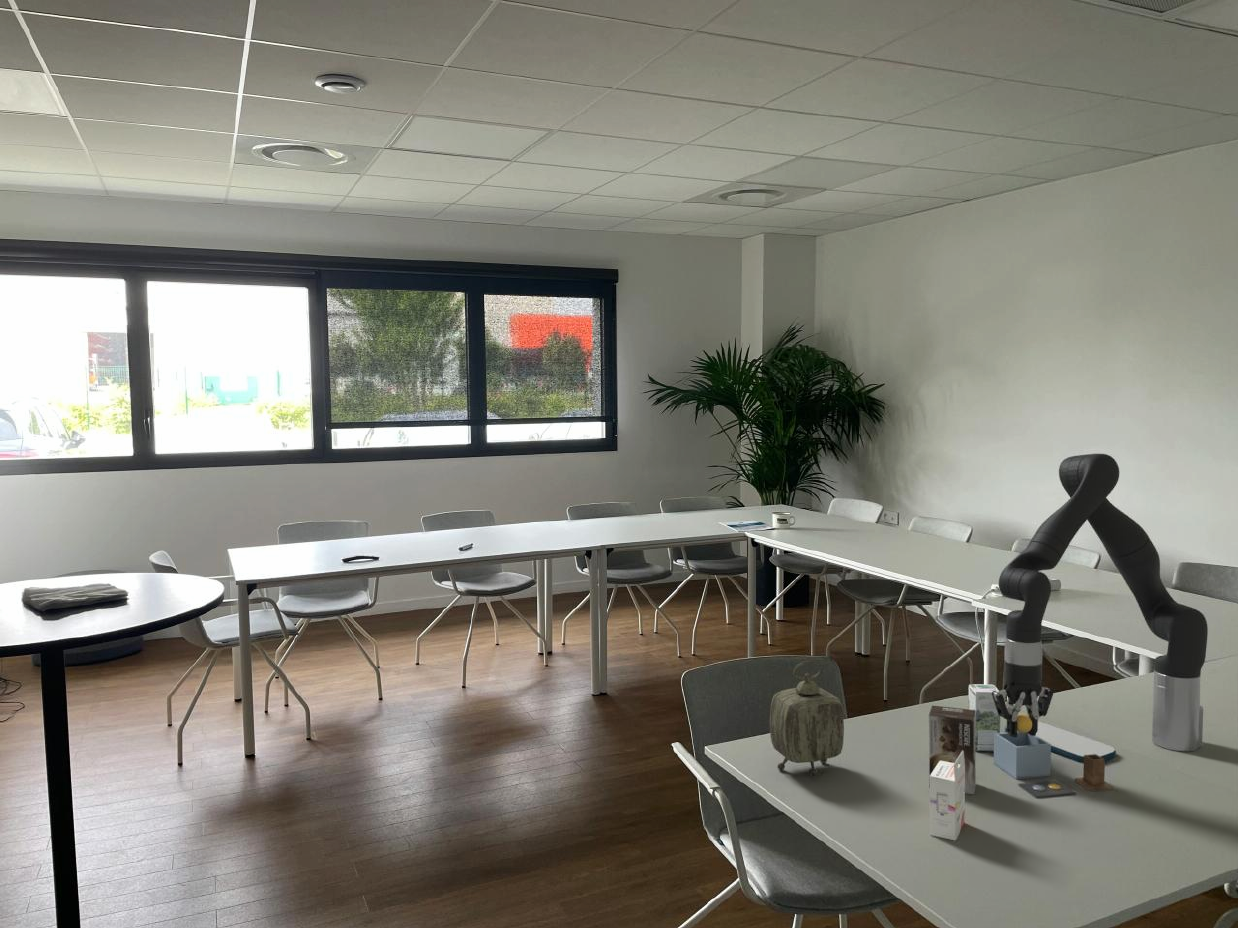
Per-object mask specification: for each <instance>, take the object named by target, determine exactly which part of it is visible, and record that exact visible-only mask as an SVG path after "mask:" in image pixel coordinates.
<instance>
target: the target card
mask: <svg viewBox="0 0 1238 928" xmlns="http://www.w3.org/2000/svg"><path fill="white" fill-rule="evenodd" d="M1018 787H1020V788H1021V789H1022V790H1024V791H1026V793H1028V794H1030V795H1031V796H1032V797H1034V798H1036V799H1041V798H1052V797H1059V796H1060V797H1061V796H1070V795H1076V793H1077V792H1076V791H1075V790H1073V789H1071V788H1070V787H1068V786H1067V785H1065V784H1064V783H1062V782H1061V781H1059V780H1057V779H1052V780H1043V781H1034V782H1032V781H1031V782H1024V783H1023V782H1022V783H1018Z"/></svg>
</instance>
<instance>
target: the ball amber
mask: <svg viewBox="0 0 1238 928" xmlns="http://www.w3.org/2000/svg"><path fill="white" fill-rule="evenodd" d="M1016 721H1017V731H1018V732H1020V733H1027V732H1029V731H1030V730H1031V728H1032V721H1031V719H1030V718H1029V715H1028V714H1027V715H1026V714H1024V713H1018V716H1017V720H1016Z"/></svg>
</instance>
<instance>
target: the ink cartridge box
mask: <svg viewBox="0 0 1238 928" xmlns="http://www.w3.org/2000/svg"><path fill="white" fill-rule="evenodd" d="M959 762H961V764H959ZM965 795H966V793H965V761H964V751H962V752H961V754H960V755H959V757H958V758H957V760H956V762H955V763H951V762H946V761H939V763H938V764H937V766H936V767H935V769H934V770H933V772H932V773H931V775H930V788H929V807H930V808H929V814H930V816H929V817H930V819H929V823H930V824H929V825H930V827H929V829H930V831H929V834H930V835H929V836H933V837H935V838H937V837H938V838H941V839H947V840H950V841H957V839H958V838H959V835H960V832H961V830H962V829H963V827H964V826H963V825H964V824H965V813H966V812H965V811H966V808H965V805H966V804H965V802H966V801H965V800H966V797H965Z"/></svg>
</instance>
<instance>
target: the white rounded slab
mask: <svg viewBox="0 0 1238 928" xmlns="http://www.w3.org/2000/svg"><path fill="white" fill-rule="evenodd" d="M1005 732H1007V724H1006V726H1005V728H1004V733H1005ZM1036 736H1038V737H1039V738H1041V739H1043V740H1044V741H1046V742H1048V743H1049V744H1051V754H1052V753H1053V754H1056V755H1058V756H1061V757H1063V758H1066V759H1068V760H1071V761H1074V762H1077V763H1081V764H1084V755H1092V754H1096V755H1098V756H1100V757H1102V758H1103V759H1105V762H1108V761H1111V760H1113V759H1115V758H1116V755H1117V751H1116V748H1114V747H1113V746H1112V745H1109V744H1107V743H1104V742H1101V741H1098V740H1095V739H1093V738H1089V737H1087V736H1084V735H1081V734H1078V733H1074V732H1072V731H1070V730H1065V729H1063V728H1060V727H1058V726H1054V725H1051V724H1049V723H1046V722H1042V721H1040V720H1038V731H1037V733H1036Z"/></svg>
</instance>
